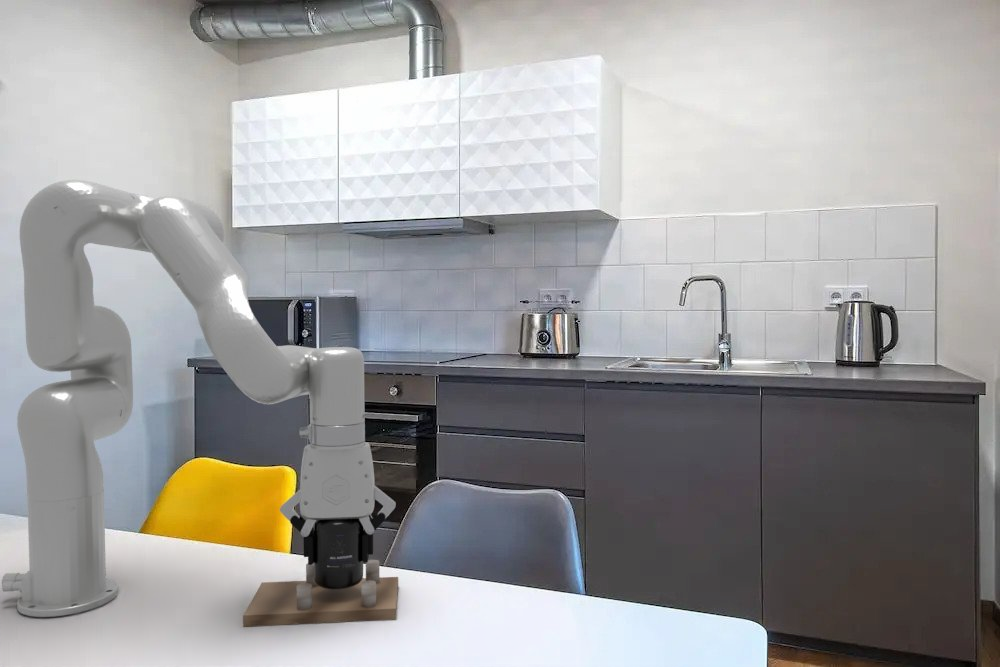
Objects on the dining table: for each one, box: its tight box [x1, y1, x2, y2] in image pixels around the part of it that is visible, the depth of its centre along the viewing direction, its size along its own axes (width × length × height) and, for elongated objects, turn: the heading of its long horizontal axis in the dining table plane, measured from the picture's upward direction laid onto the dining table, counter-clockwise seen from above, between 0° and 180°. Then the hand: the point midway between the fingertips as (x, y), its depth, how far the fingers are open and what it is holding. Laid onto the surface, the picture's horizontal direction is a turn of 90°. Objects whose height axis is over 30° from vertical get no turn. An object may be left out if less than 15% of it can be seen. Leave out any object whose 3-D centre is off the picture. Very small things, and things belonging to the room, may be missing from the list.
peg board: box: [242, 559, 399, 628], centre depth 107 cm, size 20×12×4 cm, turn 96°
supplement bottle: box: [313, 518, 364, 589], centre depth 107 cm, size 7×7×12 cm
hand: (339, 559), depth 107 cm, fingers closed on supplement bottle, 6 cm apart
